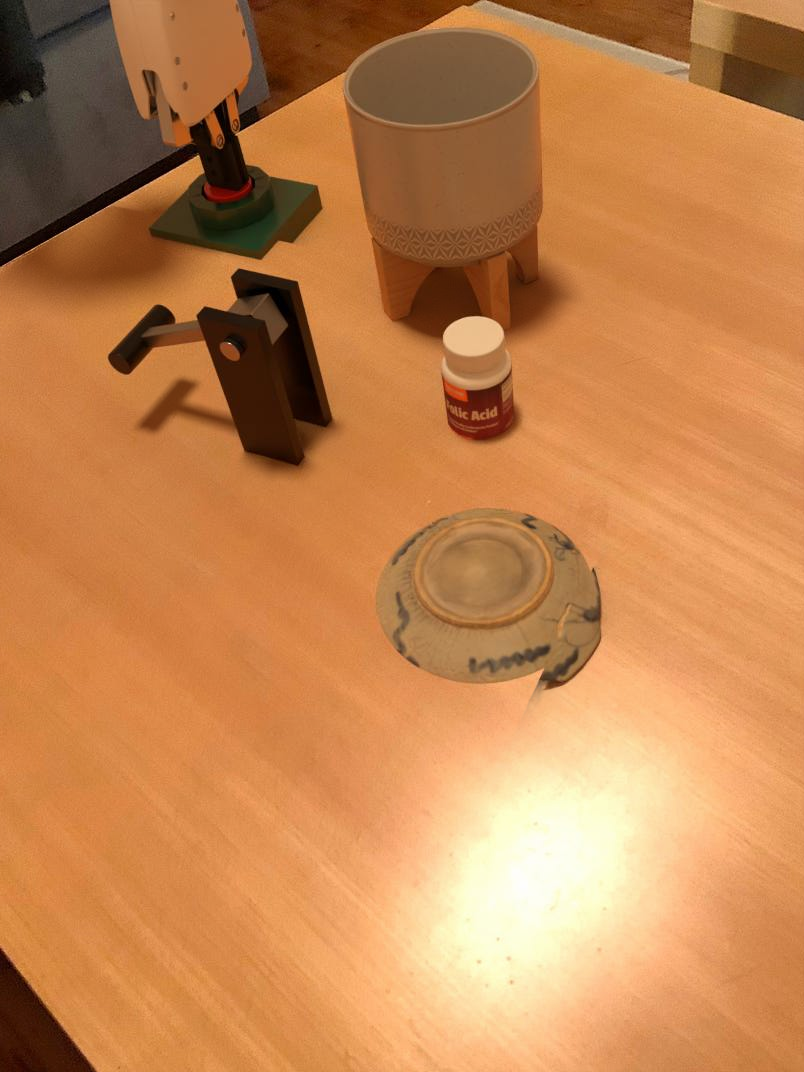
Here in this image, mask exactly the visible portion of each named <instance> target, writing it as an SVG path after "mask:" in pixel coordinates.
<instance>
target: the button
mask: <svg viewBox="0 0 804 1072" xmlns="http://www.w3.org/2000/svg"><path fill="white" fill-rule="evenodd" d="M252 190H253V185H252V181H251V178H250V177H249V181H248V182H247V183H246V184H243V187H242V188H241V189H240V190H239V191H233V190H228V189H223V188H218V187H212V186H210V185H209V184H208V182H206V184H205V186H204V191H205V194H206V197H207V200H208V201H212V202H217V203H224V202H232V201H236V200H238V199H241V198H243V197H245V196H247V195H248V194H249V193H250V192H251V191H252Z"/></svg>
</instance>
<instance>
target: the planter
mask: <svg viewBox="0 0 804 1072" xmlns="http://www.w3.org/2000/svg"><path fill="white" fill-rule="evenodd" d="M540 81H541V79H540V65H539V60H538V58H537V56H536V54H535V53H534V51H533V50H532V49H531V48H530V47H529V46H528V45H527V44H525V43H524V42H523V41H521V40H519V39H518V38H515V37H513V36H512V35H509V34H506V33H503V32H500V31H496V30H493V29H486V28H482V27H472V26H444V27H432V28H425V29H420V30H416V31H412V32H407V33H403V34H400V35H398V36H394V37H392V38H390V39H386V40H383V41H382V42H380V43H378V44H376V45H374V46H372V47H371V48H369V49H368V50H366V51H364V52H363V53H362V54H361V55H359V56H358V57H357V58H355V60H354V61H352V63H351V64H350V65H349V67H348V68H347V69H346V72H345V74H344V76H343V80H342V93H343V98H344V105H345V110H346V115H347V120H348V121H347V122H348V127H349V132H350V137H351V142H352V150H353V153H354V154H353V155H354V160H355V165H356V166H355V167H356V172H357V177H358V181H359V187H360V193H361V199H362V204H363V205H362V206H363V210H364V216H365V221H366V225H367V229H368V232H369V233H370V235H371V238H370V240H371V245H372V250H373V257H374V262H375V268H376V273H377V278H378V284H379V290H380V295H381V301H382V302H381V303H382V307H383V312H384V313H385V315H386V316H387V317H388V318H389V320H390V321H391V322H395V321H397V320H400V319H403V318H405V317H407V316H410V312H411V308H412V305H413V301H414V299H415V296H416V294H417V292H418V290H419V289H420V287H421V285H422V283H423V282H424V281H425V280H426V279H427V277H428V276H429V275H430V274H431V273H432V272H433V271H434V270H435V269H436V268H439V267H440V268H459V267H461V268H462V270H463V271H464V273H465V275H466V277H467V279H468V282H469V284H470V286H471V287H472V290H473V292H474V296H475V297H476V300H477V303H478V307H479V310H480V313H481V317H487V318H490V319H492V320H494V321H496V322H497V323H498V324H499V325H500V326H501V327H502V329H503V331H504V332H505V331H506V330H509V329H511V327H512V323H511V307H510V290H509V289H510V288H509V275H508V259H507V253H509V254H510V257H511V259H512V260H513V263H514V266H515V274H516V275H517V277H518V278H519V279H520V280H521V281H522V282H523V283H524V284H528V283H531V282H533V281H536V280H539V278H540V271H539V269H540V268H539V242H538V241H539V240H538V237H539V235H538V223H539V222H540V219H541V217H542V214H543V207H544V193H543V188H544V187H543V160H542V159H543V158H542V157H543V156H542V155H543V154H542V122H541V121H542V120H541V119H542V118H541V116H542V115H541V87H540V86H541V84H540V83H541V82H540Z"/></svg>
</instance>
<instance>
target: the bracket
mask: <svg viewBox="0 0 804 1072" xmlns="http://www.w3.org/2000/svg"><path fill="white" fill-rule="evenodd" d="M230 280H231V283H232V286H233V290H234V293H235V297H236V300H237V299H239V298H244V297H250V296H256V295H262V294H268V293H269V294H270V296H271V297H272V299H273V301H274V302H275V304H276V306H277V307H278V309H279V310H280V312H281V314H282V315H283V317H284V319H285V320H286V322H287V323H288V326H287V328H286V329H285V330H284V331H283V333H282V334H281V335H280V336H279V338H278V339H277V340H276V341H275V342H274V344H273V345H272V343H271V339H270V336H269V332H268V329H267V326H266V322H265V320H261V319H257V318H252V317H248V316H244V315H240V314H236V313H231V312H227V311H228V310H223V309H219V308H214V307H209V306H206V305H205V306H203V307H202V308H201V309H200V310H199V312H198V313H196V314H195V315H196V316H195V317H196V320H198V322H199V325H200V328H201V331H202V334H203V337H204V339H205V341H204V342H205V345H206V347H207V350H208V353H209V357H210V358H211V361H212V364H213V368H214V370H215V373H216V376H217V379H218V381H219V385H220V387H221V390H222V393H223V396H224V398H225V402H226V404H227V406H228V409H229V412H230V415H231V417H232V420H233V423H234V426H235V429H236V432H237V434H238V438H239V440H240V443H241V445H242V448H243V451H244V452H245V453H251V454H253V455H257V456H261V457H265V458H267V459H271V460H275V461H279V462H281V463H285V464H288V465H292V466H295V467H299V466H300V465H301V463H302V461H303V460H304V459H305V458H306V455H305V451H304V449H303V446H302V445H303V444H302V441H301V439H300V434H299V431H298V429H297V425H296V421H300V422H303V423H307V424H311V425H315V426H318V427H322V428H327V427H328V426H329V424H330V423H331V422H332V420H333V414H332V411H331V407H330V403H329V398H328V395H327V391H326V388H325V383H324V379H323V375H322V372H321V368H320V363H319V359H318V355H317V352H316V348H315V344H314V339H313V336H312V332H311V328H310V325H309V324H310V323H309V320H308V315H307V312H306V308H305V304H304V300H303V296H302V292H301V288H300V284H299V280H294V279H290V278H285V277H280V276H276V275H271V274H266V273H262V272H258V271H254V270H249V269H245V268H239V267H238V268H237V269H236V270H235V271H234V272H233V274H232V275H231V276H230ZM295 420H296V421H295Z"/></svg>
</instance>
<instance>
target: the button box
mask: <svg viewBox="0 0 804 1072" xmlns="http://www.w3.org/2000/svg"><path fill="white" fill-rule="evenodd" d="M246 168H247V171H248V175H249V177H250V178H251V181H252V185H253V190H252V191H251V192H250V193H249V194H248V195H247V196H245V197H243V198H241V199H238V200H236V201H232V202H224V203H217V202H212V201H208V200H207V197H206V194H205V191H204V186H205V184H206V182H207V179H206V176H205V173H204V172H203V173H201V174H199V175H198V176H197V177H196V178H195V179H194V180H193V181H192V182H191V183H190V184H189V185H188V188H187V189H186V190H185V191H184V192H183V193H182V194H181V195H180V196H178V198H177V199H176V200H175V201H174V202H173V203H172V204H171V205H170V206H169V207H168V208H167V209H166V210H165V211H164V212H163V213H162V214H161V215H160V216H159V217H158V218H157V219H156V220H155V221H154V222H153V223H152V224H151V225H150V226H149V227H148V231H149V233H150V236H151V237H153V238H158V239H163V240H168V241H172V242H177V243H182V244H186V245H189V246H195V247H200V248H203V249H209V250H213V251H217V252H222V253H227V254H232V255H237V256H241V257H245V258H250V259H254V260H258V261H259V260H260V261H261V260H263V258H264V257H265V256H266V255H267V254H268V253H269V251H270V250H271V249H272V248H273V247H274V246H275V245H276V244H277V242H278V241H279V242H283V243H288V244H293V243H294V242H295V240H296V239H297V238H298V237H299V236H300V235H301V233H303V231H304V230H305V229H306V228H307V227H308V225H310V224H311V222H312V221H313V220H314V219H315V218H316V217H317V215H318V214H319V213H320V212H321V211H322V209H323V203H322V200H321V195H320V191H319V187H318V184H312V183H307V182H301V181H297V180H291V179H286V178H282V177H275V176H270V175H269V174H268V173H266V172H265V171H264V170H263V169H261V167H260V166H255V165H252V164H251V165H250V164H246Z"/></svg>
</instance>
